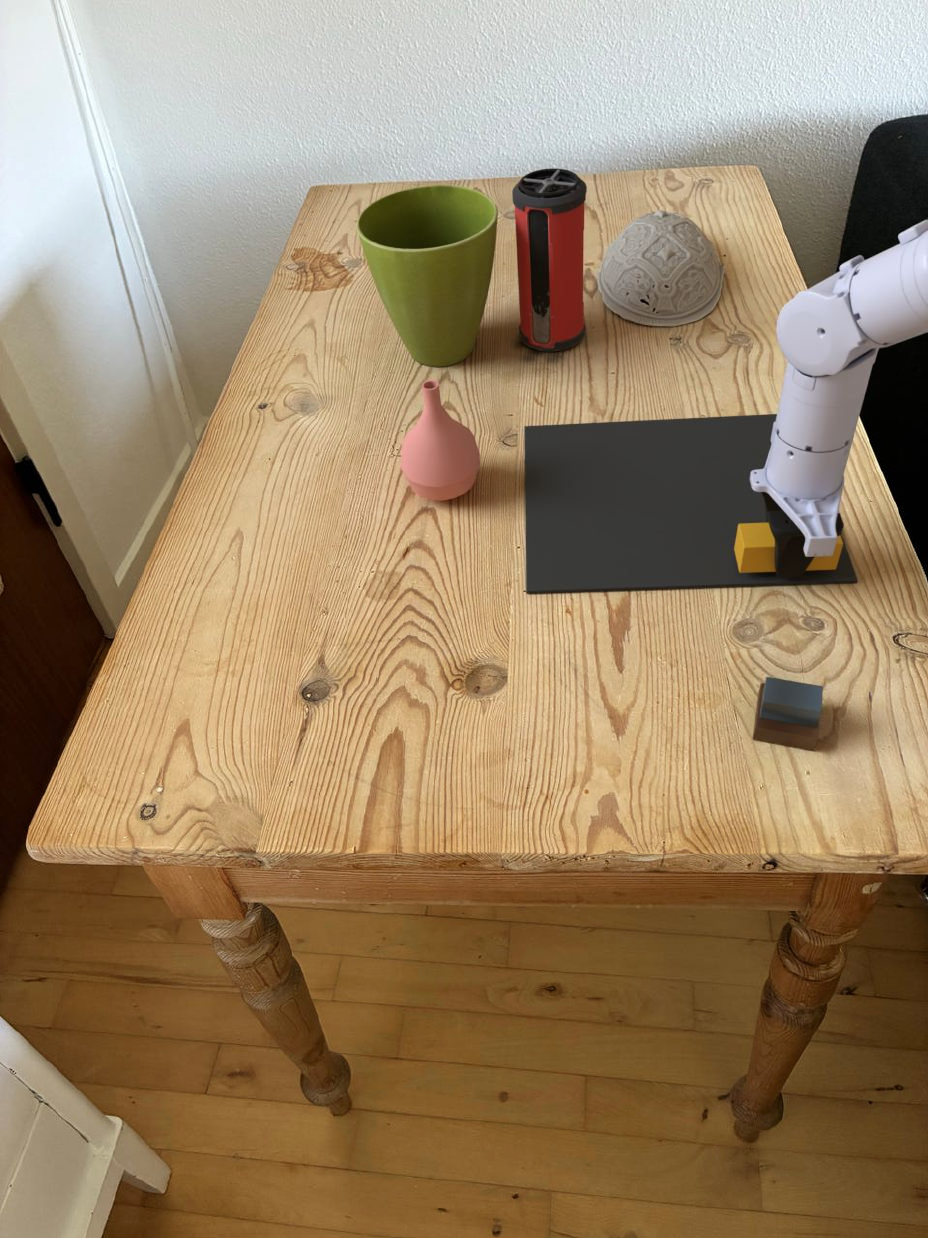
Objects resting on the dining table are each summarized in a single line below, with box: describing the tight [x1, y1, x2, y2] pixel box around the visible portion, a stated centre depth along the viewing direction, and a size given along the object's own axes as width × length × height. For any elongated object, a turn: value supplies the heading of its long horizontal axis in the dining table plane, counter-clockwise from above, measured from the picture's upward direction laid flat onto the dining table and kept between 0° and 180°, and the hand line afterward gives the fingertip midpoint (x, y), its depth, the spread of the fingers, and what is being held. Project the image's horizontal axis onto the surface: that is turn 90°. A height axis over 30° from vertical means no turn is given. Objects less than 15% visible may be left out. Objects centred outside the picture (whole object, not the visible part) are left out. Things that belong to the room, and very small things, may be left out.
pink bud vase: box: [400, 379, 481, 501], centre depth 88 cm, size 8×8×12 cm
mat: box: [524, 413, 859, 595], centre depth 89 cm, size 28×24×1 cm
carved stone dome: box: [596, 209, 726, 328], centre depth 116 cm, size 16×25×7 cm, turn 172°
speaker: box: [511, 167, 588, 353], centre depth 103 cm, size 8×8×18 cm
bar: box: [734, 523, 843, 573], centre depth 79 cm, size 8×3×3 cm, turn 88°
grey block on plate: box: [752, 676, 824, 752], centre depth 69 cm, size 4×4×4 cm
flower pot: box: [355, 184, 499, 368], centre depth 104 cm, size 15×15×16 cm
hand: (784, 559), depth 81 cm, fingers closed on bar, 3 cm apart
